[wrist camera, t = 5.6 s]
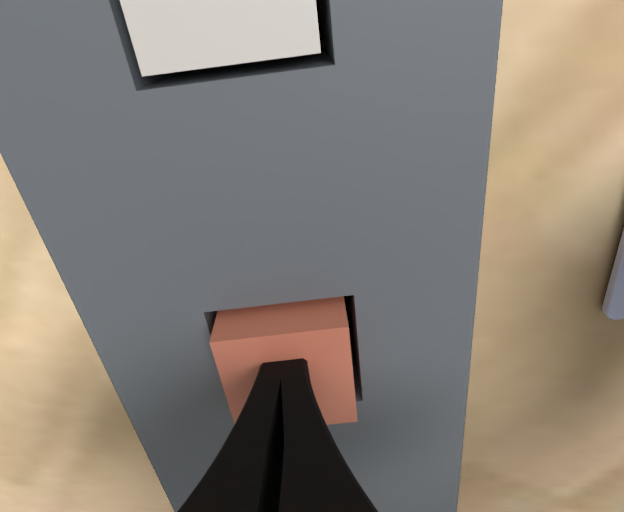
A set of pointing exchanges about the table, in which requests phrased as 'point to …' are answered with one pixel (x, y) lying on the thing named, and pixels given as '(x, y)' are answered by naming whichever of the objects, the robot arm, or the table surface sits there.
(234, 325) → the terracotta button
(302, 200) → the button panel
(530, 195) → the table surface
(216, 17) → the white cube
